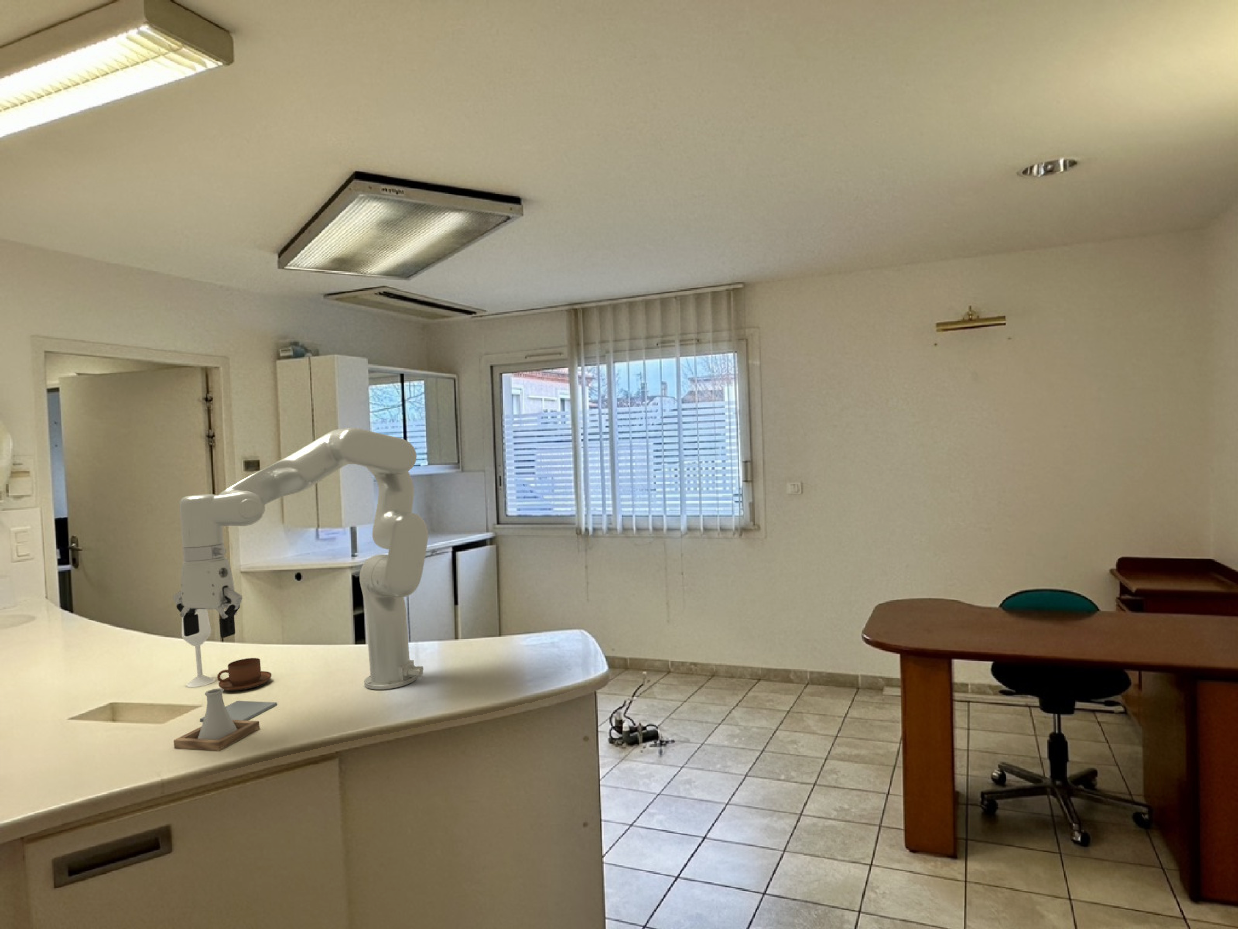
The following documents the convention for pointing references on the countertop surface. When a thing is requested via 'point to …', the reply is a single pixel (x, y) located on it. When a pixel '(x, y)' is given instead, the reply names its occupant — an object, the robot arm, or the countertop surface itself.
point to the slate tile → (246, 709)
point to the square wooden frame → (193, 742)
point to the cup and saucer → (243, 675)
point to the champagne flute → (197, 641)
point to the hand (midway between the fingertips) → (209, 635)
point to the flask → (216, 717)
